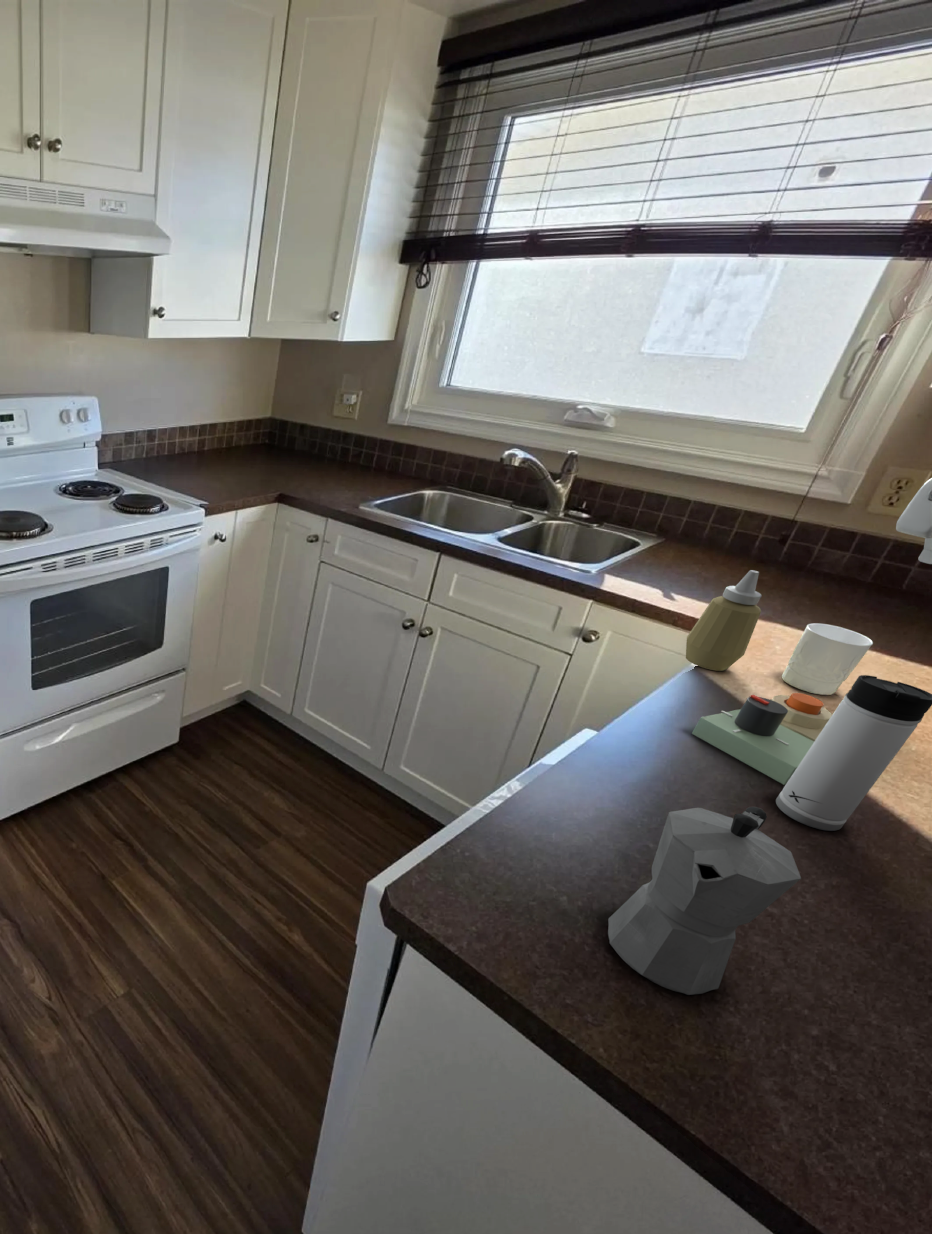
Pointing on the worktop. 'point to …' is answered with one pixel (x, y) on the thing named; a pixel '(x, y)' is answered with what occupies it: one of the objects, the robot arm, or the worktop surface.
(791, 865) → the coffeepot
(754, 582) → the squeeze bottle
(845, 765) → the travel mug
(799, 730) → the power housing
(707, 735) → the dial panel
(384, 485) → the worktop surface
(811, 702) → the power button
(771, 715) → the timer dial
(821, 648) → the white cup
